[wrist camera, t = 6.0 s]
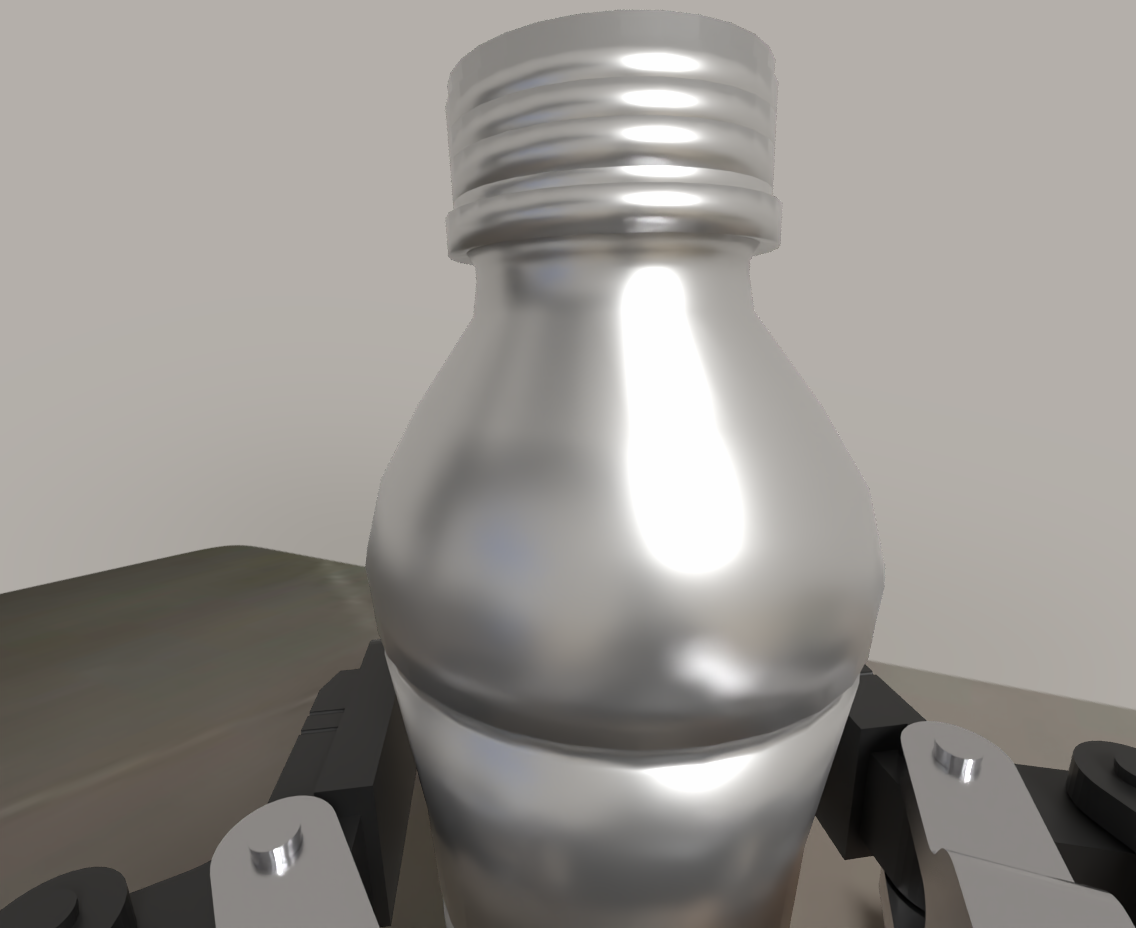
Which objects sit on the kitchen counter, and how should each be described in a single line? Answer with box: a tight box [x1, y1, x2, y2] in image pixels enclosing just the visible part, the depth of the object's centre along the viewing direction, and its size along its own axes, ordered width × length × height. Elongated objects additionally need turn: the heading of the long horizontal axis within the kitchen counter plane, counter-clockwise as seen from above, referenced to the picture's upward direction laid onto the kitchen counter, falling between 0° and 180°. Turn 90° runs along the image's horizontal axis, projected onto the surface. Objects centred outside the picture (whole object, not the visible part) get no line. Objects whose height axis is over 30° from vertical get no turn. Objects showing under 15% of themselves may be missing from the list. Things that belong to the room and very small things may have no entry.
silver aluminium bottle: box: [365, 10, 885, 928], centre depth 9 cm, size 6×7×20 cm
